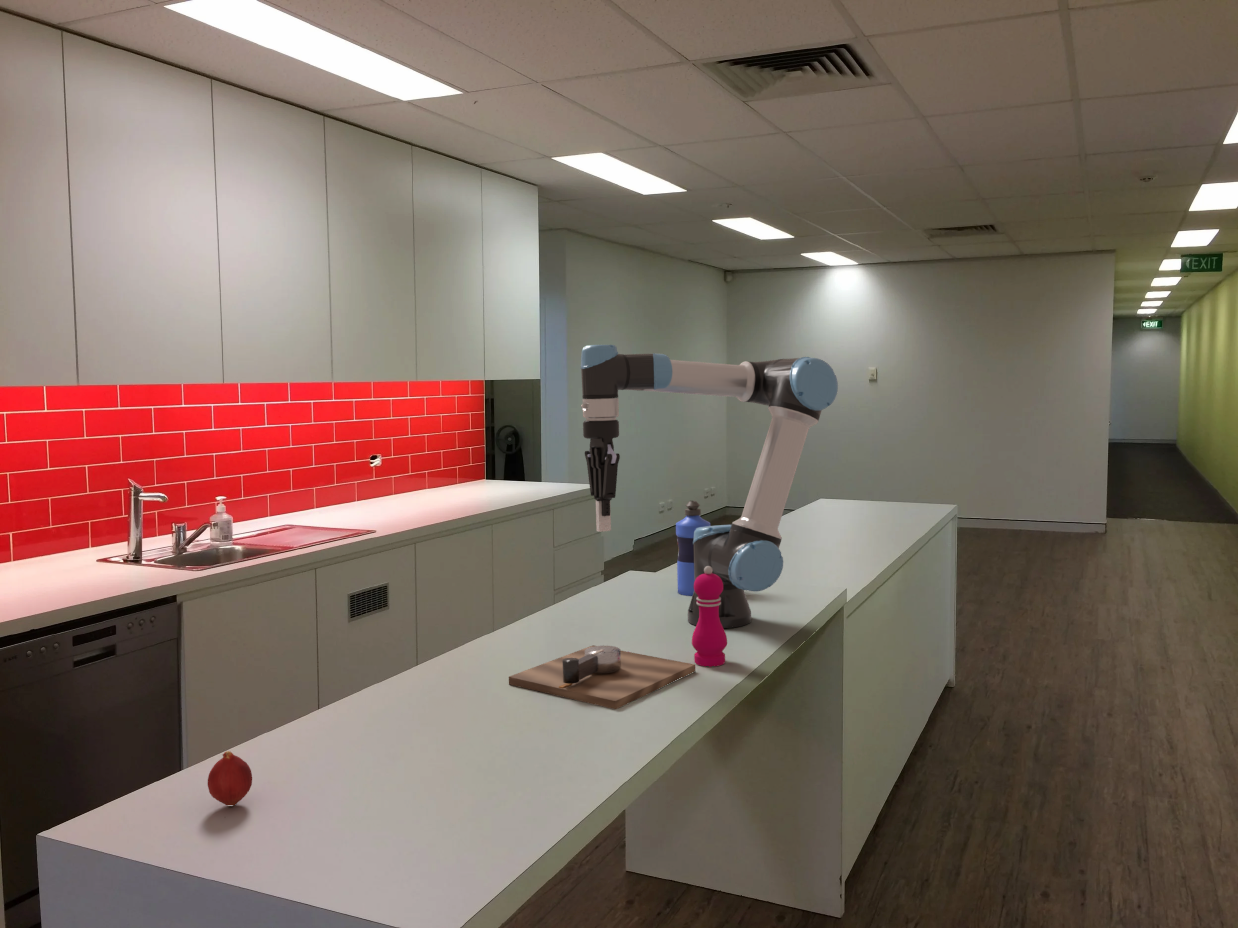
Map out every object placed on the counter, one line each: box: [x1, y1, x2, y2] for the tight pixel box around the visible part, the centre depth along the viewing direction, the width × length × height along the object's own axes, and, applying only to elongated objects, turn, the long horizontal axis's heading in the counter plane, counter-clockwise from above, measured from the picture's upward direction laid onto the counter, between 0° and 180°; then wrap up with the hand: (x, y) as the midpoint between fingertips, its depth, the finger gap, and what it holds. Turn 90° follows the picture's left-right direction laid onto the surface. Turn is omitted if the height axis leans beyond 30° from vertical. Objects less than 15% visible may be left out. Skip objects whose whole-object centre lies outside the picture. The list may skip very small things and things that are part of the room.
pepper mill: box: [691, 566, 728, 668], centre depth 196 cm, size 7×7×20 cm
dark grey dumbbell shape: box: [562, 645, 622, 684], centre depth 185 cm, size 16×7×4 cm, turn 148°
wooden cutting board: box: [508, 645, 696, 710], centre depth 189 cm, size 26×26×2 cm
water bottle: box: [675, 500, 711, 597], centre depth 261 cm, size 9×9×25 cm
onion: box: [207, 750, 253, 806], centre depth 135 cm, size 6×6×8 cm
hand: (603, 530), depth 204 cm, fingers closed
